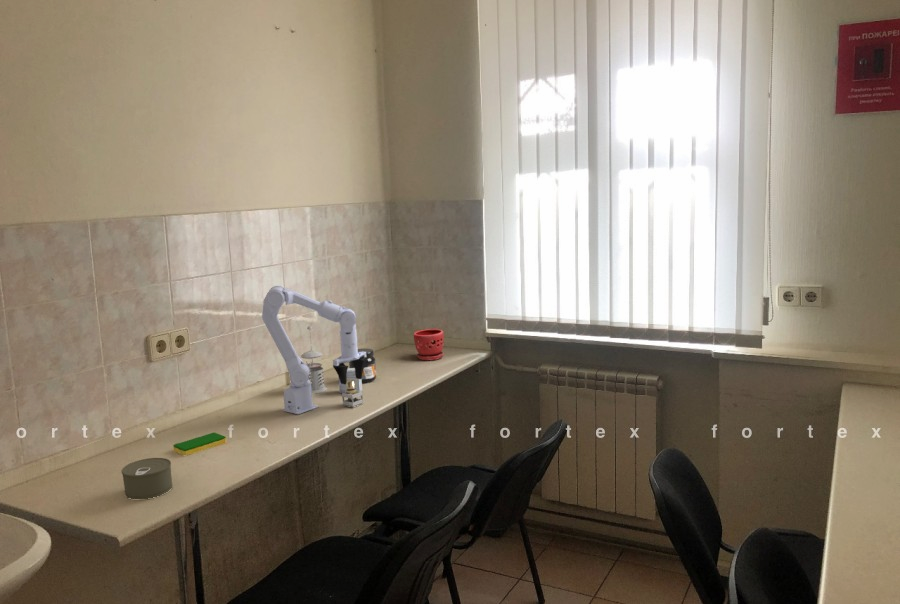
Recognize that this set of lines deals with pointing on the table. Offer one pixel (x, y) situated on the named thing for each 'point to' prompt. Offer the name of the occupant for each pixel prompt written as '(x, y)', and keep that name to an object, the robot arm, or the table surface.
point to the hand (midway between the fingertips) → (351, 381)
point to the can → (147, 478)
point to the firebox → (352, 404)
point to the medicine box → (350, 376)
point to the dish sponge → (199, 443)
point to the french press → (315, 370)
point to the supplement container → (367, 366)
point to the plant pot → (429, 344)
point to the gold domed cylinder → (351, 390)
